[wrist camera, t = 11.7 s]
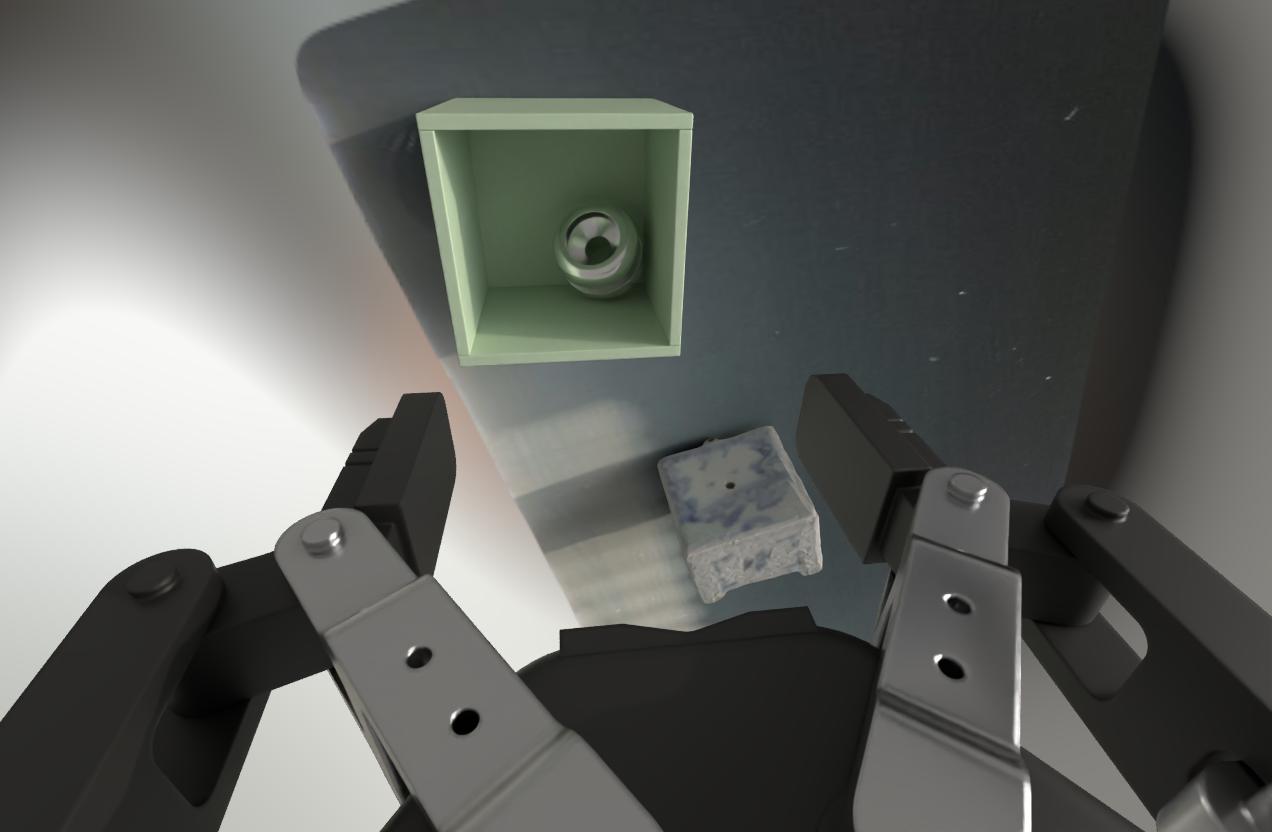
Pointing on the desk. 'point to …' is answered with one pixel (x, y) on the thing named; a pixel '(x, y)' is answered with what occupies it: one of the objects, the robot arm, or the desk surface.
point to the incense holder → (740, 512)
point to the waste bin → (555, 222)
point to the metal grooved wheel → (589, 233)
